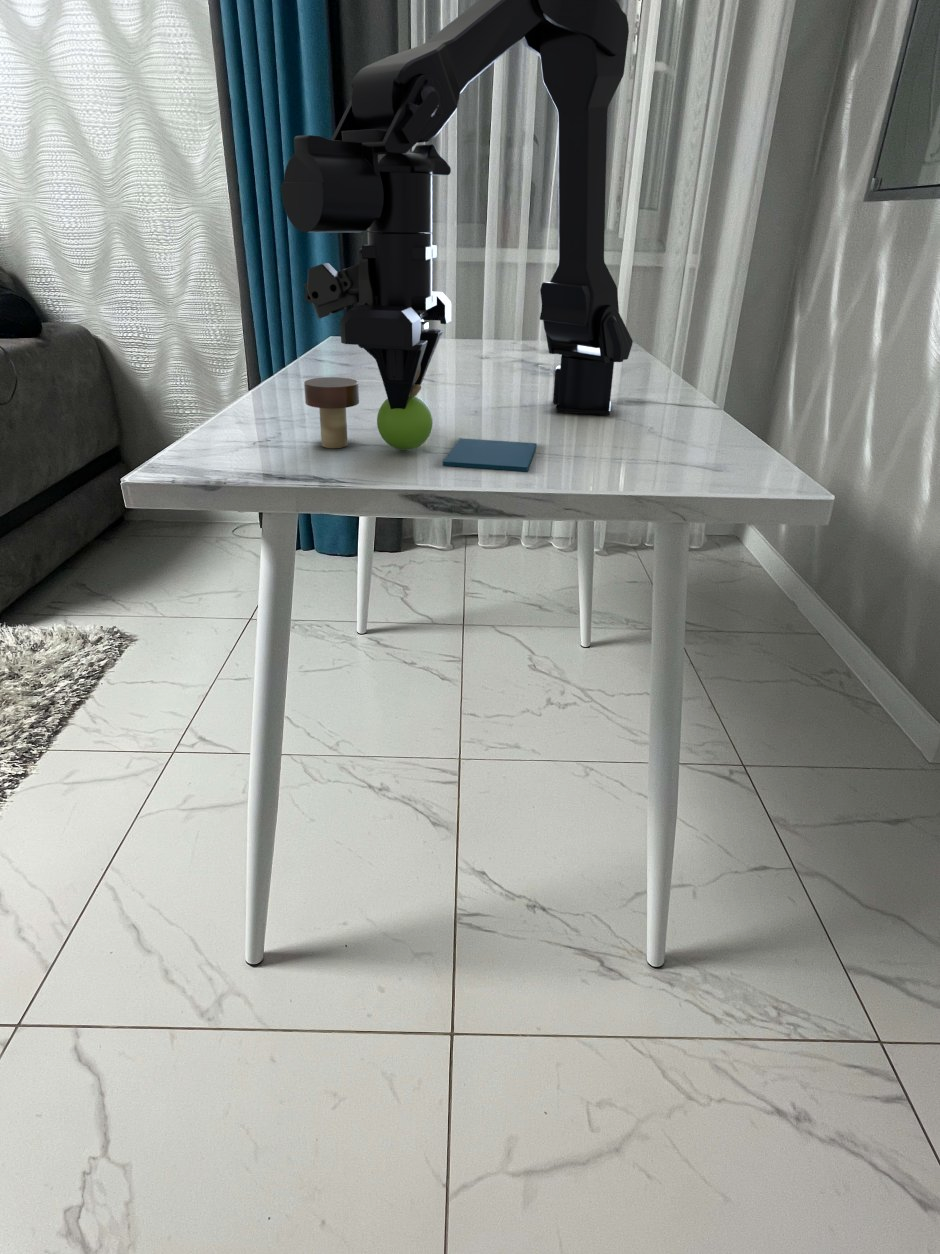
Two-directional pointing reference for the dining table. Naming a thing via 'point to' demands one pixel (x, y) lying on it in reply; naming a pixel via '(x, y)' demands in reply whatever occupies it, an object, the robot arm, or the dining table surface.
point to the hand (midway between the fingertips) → (402, 410)
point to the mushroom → (332, 406)
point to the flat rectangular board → (491, 454)
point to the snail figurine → (405, 422)
